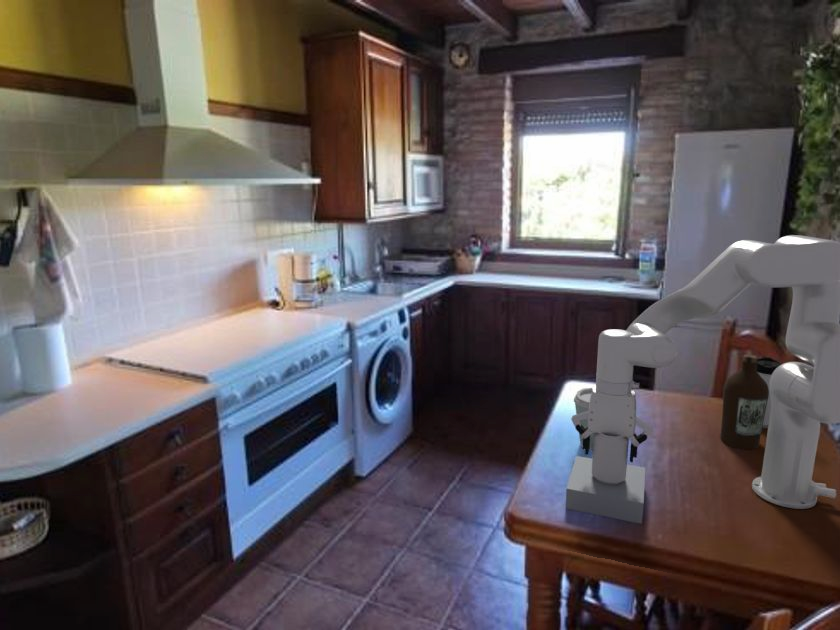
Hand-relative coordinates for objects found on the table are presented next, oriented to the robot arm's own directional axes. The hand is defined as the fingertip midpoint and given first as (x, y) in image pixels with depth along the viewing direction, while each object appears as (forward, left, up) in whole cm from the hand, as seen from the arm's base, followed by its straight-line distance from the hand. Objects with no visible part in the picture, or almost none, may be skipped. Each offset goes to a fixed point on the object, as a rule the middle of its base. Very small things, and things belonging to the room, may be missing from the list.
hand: (609, 455), depth 126 cm
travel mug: (-39, -57, -11) cm, 70 cm away
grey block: (0, 0, -11) cm, 11 cm away
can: (0, 0, -6) cm, 6 cm away
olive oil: (-32, -42, -11) cm, 54 cm away
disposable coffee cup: (+6, -26, -11) cm, 29 cm away
